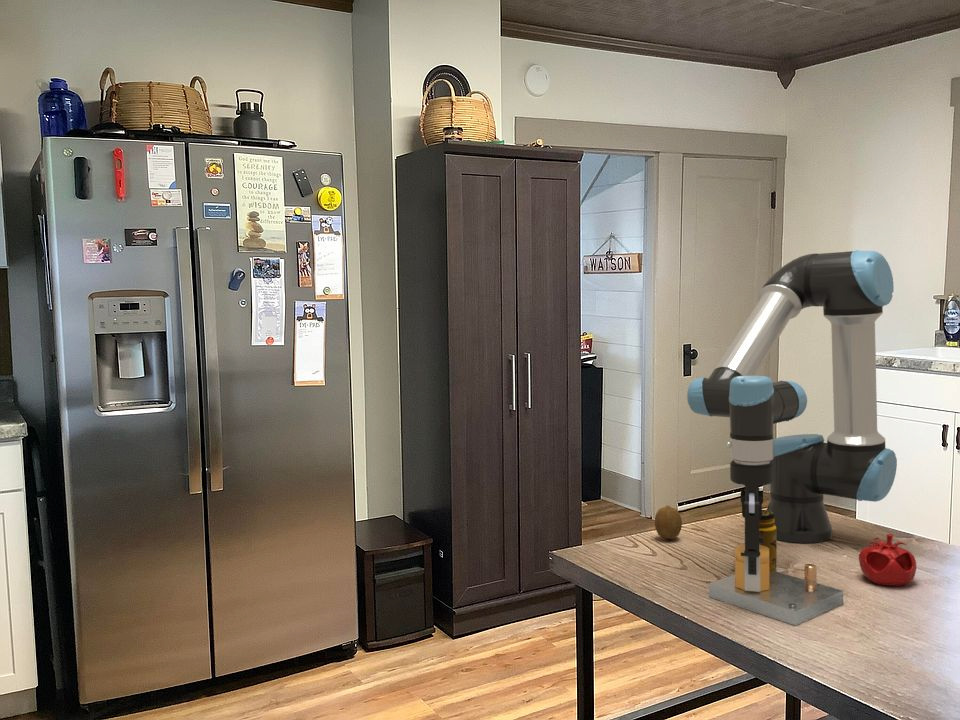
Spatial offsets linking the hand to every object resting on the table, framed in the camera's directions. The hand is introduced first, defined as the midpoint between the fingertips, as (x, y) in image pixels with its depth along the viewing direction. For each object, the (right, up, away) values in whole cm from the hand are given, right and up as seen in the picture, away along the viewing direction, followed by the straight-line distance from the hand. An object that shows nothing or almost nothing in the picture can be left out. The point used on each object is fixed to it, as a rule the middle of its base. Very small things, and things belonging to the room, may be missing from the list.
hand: (752, 584), depth 152 cm
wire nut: (0, 0, 0) cm, 0 cm away
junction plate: (+4, -3, -1) cm, 5 cm away
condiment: (+6, -2, +16) cm, 17 cm away
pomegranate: (+29, -2, +8) cm, 30 cm away
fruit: (-7, -1, +39) cm, 39 cm away
